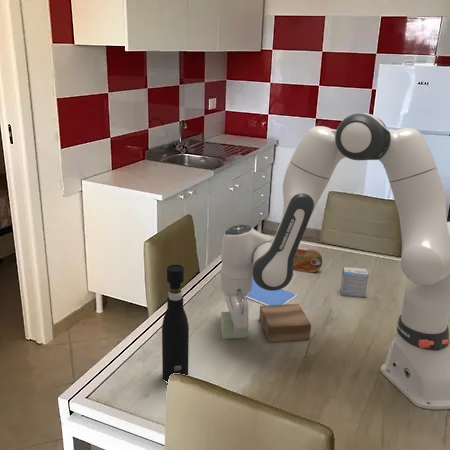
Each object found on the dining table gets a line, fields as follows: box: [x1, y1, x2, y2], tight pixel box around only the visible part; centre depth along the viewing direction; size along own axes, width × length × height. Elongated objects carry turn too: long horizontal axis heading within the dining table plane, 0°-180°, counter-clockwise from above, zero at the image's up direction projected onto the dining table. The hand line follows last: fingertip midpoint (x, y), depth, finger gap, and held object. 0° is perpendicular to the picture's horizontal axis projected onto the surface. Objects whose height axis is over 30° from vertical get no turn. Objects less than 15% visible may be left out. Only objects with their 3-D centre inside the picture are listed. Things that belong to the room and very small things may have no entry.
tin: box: [293, 247, 323, 273], centre depth 189 cm, size 15×3×8 cm, turn 73°
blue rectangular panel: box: [245, 278, 298, 306], centre depth 172 cm, size 19×13×1 cm, turn 52°
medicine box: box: [340, 266, 369, 298], centre depth 172 cm, size 8×4×9 cm, turn 84°
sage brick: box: [220, 311, 249, 340], centre depth 147 cm, size 4×7×6 cm, turn 99°
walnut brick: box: [258, 303, 312, 342], centre depth 151 cm, size 12×12×5 cm
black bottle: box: [161, 264, 190, 382], centre depth 124 cm, size 6×6×30 cm
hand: (234, 325), depth 147 cm, fingers closed on sage brick, 4 cm apart
